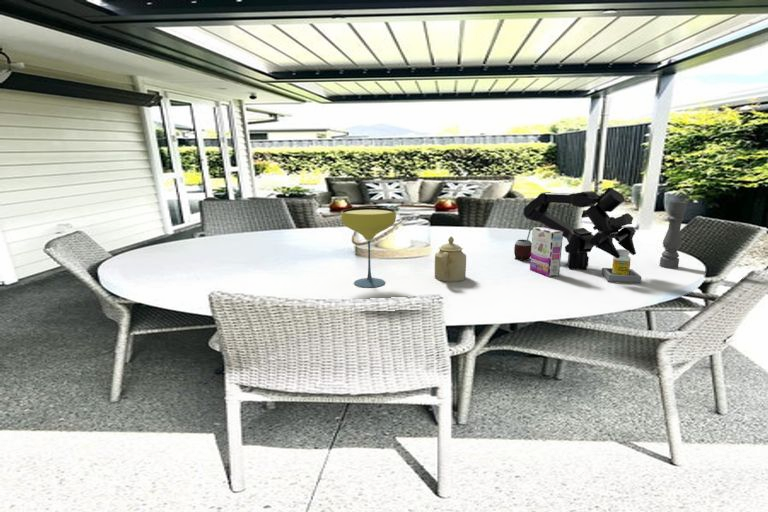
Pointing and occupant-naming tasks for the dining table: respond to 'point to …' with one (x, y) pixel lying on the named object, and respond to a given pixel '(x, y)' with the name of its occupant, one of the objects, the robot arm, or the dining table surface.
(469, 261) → the dining table surface
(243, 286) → the dining table surface
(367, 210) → the cocktail glass
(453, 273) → the sugar bowl
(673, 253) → the candle holder
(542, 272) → the candy bar box
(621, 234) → the robot arm
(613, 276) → the tray
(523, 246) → the mate gourd
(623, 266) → the supplement bottle
